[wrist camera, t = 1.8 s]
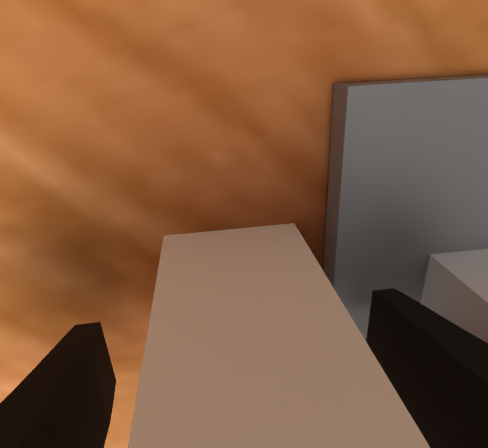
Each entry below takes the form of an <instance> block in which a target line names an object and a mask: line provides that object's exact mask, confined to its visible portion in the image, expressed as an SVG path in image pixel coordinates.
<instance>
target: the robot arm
mask: <svg viewBox="0 0 488 448" xmlns="http://www.w3.org/2000/svg"><path fill="white" fill-rule="evenodd" d="M366 342H367V344H368V346H369V347H370V349H371V351H372V352H373V354H374V356H375V357H376V359H377V361H378V362H379V364H380V365H381V367H382V369H383V370H384V372H385V374H386V375H387V377H388V379H389V380H390V382H391V384H392V385H393V387H394V389H395V390H396V392H397V394H398V395H399V397H400V399H401V400H402V402H403V403H404V405H405V407H406V408H407V410H408V412H409V413H410V415H411V417H412V418H413V420H414V422H415V423H416V425H417V427H418V428H419V430H420V432H421V433H422V435H423V436H424V438H425V440H426V441H427V443H428V445H429V446H430V448H488V343H487V342H485V341H483V340H482V339H480V338H478V337H476V336H474V335H473V334H471V333H469V332H468V331H466V330H464V329H462V328H461V327H459V326H457V325H456V324H454V323H452V322H451V321H449V320H447V319H446V318H444V317H442V316H441V315H439V314H437V313H436V312H434V311H432V310H431V309H429V308H427V307H426V306H424V305H422V304H421V303H419V302H417V301H416V300H414V299H412V298H411V297H409V296H407V295H406V294H404V293H402V292H400V291H398V290H396V289H395V288H391V289H383V290H374V291H372V299H371V306H370V314H369V322H368V330H367V338H366ZM115 385H116V378H115V375H114V371H113V367H112V364H111V360H110V356H109V353H108V349H107V345H106V342H105V338H104V334H103V331H102V327H101V323H100V322H97V323H88V324H79V325H75V326H74V327H73V328H72V329H71V330H70V331H69V332H68V333H67V334H66V335H65V336H64V337H63V338H62V339H61V341H60V342H59V343H58V344H57V345H56V346H55V347H54V348H53V349H52V350H51V351H50V352H49V354H48V355H47V356H46V357H45V358H44V359H43V360H42V361H41V362H40V363H39V364H38V365H37V366H36V367H35V368H34V369H33V370H32V372H31V373H30V374H29V375H28V376H27V377H26V378H25V379H24V380H23V381H22V382H21V383H20V384H19V385H18V386H17V387H16V388H15V389H14V390H13V391H12V392H11V393H10V394H9V395H8V396H7V397H6V398H5V399H4V400H3V401H2V402H1V403H0V448H104V444H105V440H106V436H107V432H108V428H109V424H110V420H111V413H112V407H113V400H114V393H115Z"/></svg>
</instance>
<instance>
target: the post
mask: <svg viewBox="0 0 488 448" xmlns="http://www.w3.org/2000/svg"><path fill="white" fill-rule="evenodd" d="M128 448H430V446H429V445H428V443H427V441H426V440H425V438H424V436H423V435H422V433H421V432H420V430H419V428H418V427H417V425H416V423H415V422H414V420H413V418H412V417H411V415H410V413H409V412H408V410H407V408H406V407H405V405H404V403H403V402H402V400H401V399H400V397H399V395H398V394H397V392H396V390H395V389H394V387H393V385H392V384H391V382H390V380H389V379H388V377H387V375H386V374H385V372H384V370H383V369H382V367H381V365H380V364H379V362H378V361H377V359H376V357H375V356H374V354H373V352H372V351H371V349H370V347H369V346H368V344H367V342H366V341H365V339H364V337H363V336H362V334H361V332H360V331H359V329H358V328H357V326H356V324H355V323H354V321H353V319H352V318H351V316H350V314H349V313H348V311H347V309H346V308H345V306H344V304H343V303H342V301H341V299H340V298H339V296H338V294H337V293H336V291H335V290H334V288H333V286H332V285H331V283H330V281H329V280H328V278H327V276H326V275H325V273H324V271H323V270H322V268H321V266H320V265H319V263H318V261H317V260H316V258H315V256H314V255H313V253H312V252H311V250H310V248H309V247H308V245H307V243H306V242H305V240H304V238H303V237H302V235H301V233H300V232H299V230H298V228H297V227H296V225H295V223H290V224H279V225H269V226H258V227H248V228H238V229H227V230H217V231H206V232H196V233H185V234H175V235H164V237H163V243H162V249H161V255H160V261H159V267H158V273H157V279H156V285H155V291H154V296H153V302H152V308H151V314H150V320H149V326H148V332H147V338H146V344H145V350H144V355H143V361H142V367H141V373H140V379H139V385H138V391H137V397H136V403H135V409H134V414H133V420H132V426H131V432H130V438H129V444H128Z"/></svg>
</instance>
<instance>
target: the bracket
mask: <svg viewBox="0 0 488 448" xmlns="http://www.w3.org/2000/svg"><path fill="white" fill-rule="evenodd" d="M323 271H324V273H325V275H326V276H327V278H328V280H329V281H330V283H331V285H332V286H333V288H334V290H335V291H336V293H337V294H338V296H339V298H340V299H341V301H342V303H343V304H344V306H345V308H346V309H347V311H348V313H349V314H350V316H351V318H352V319H353V321H354V323H355V324H356V326H357V328H358V329H359V331H360V332H361V334H362V336H363V337H364V339H365V341H366V338H367V330H368V322H369V314H370V306H371V299H372V291H374V290H383V289H391V288H395V289H396V290H398V291H400V292H402V293H404V294H406V295H407V296H409V297H411V298H412V299H414V300H416V301H417V302H419V303H421V304H422V305H424V306H426V307H427V308H429V309H431V310H432V311H434V312H436V313H437V314H439V315H441V316H442V317H444V318H446V319H447V320H449V321H451V322H452V323H454V324H456V325H457V326H459V327H461V328H462V329H464V330H466V331H468V332H469V333H471V334H473V335H474V336H476V337H478V338H480V339H482V340H483V341H485V342H487V343H488V74H485V75H468V76H451V77H434V78H417V79H400V80H383V81H367V82H350V83H334V88H333V105H332V123H331V141H330V159H329V176H328V194H327V212H326V230H325V247H324V265H323Z"/></svg>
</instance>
